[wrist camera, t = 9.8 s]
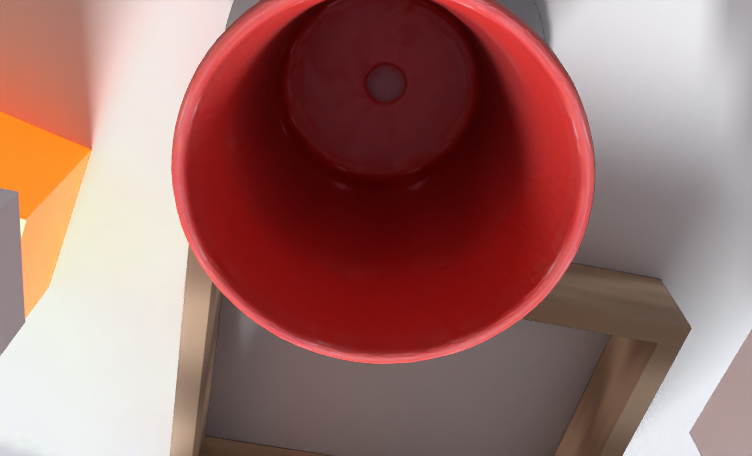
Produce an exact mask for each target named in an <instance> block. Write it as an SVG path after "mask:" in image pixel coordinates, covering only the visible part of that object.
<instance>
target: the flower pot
mask: <svg viewBox="0 0 752 456" xmlns="http://www.w3.org/2000/svg"><path fill="white" fill-rule="evenodd" d="M171 170H172V184H173V190H174V196H175V202H176V207H177V211H178V215H179V218H180V222H181V225H182V228H183V231H184V233H185V235H186V238H187V240H188V243H189V245H190V247H191V249H192V251H193V253H194V254H195V256H196V258H197V260H198V262H199V263H200V265H201V266H202V268H203V269H204V270H205V272H206V273H207V275H208V276H209V277H210V279H211V280H212V282H213V283H214V284H215V285H216V286H217V287H218V289H219V290H220V291H221V292H222V293H223V294H224V295H225V296H226V297H227V298H228V299H229V300H230V301H231V302H232V303H233V304H234V305H235V306H236V307H237V308H238V309H240V310H241V311H242V312H243V313H244V314H245V315H247V316H248V317H249V318H251V319H252V320H253V321H255V322H256V323H257V324H259V325H260V326H262V327H263V328H265V329H266V330H268V331H270V332H271V333H273V334H274V335H276V336H278V337H279V338H281V339H284V340H286V341H288V342H290V343H292V344H294V345H296V346H299V347H301V348H304V349H307V350H310V351H312V352H316V353H319V354H322V355H326V356H330V357H334V358H338V359H342V360H347V361H354V362H362V363H374V364H391V363H409V362H417V361H423V360H428V359H433V358H437V357H442V356H446V355H450V354H454V353H457V352H460V351H463V350H466V349H469V348H471V347H474V346H476V345H478V344H480V343H483V342H485V341H486V340H488V339H490V338H492V337H494V336H495V335H497V334H499V333H501V332H503V331H504V330H506V329H508V328H509V327H511V326H512V325H513V324H515V323H516V322H518V321H519V320H521V319H522V318H523V317H524V316H525V315H527V314H528V313H529V312H530V311H531V310H533V309H534V308H535V307H536V306H537V305H538V304H539V303H540V302H541V301H542V300H543V299H544V298H545V297H546V296H547V295H548V294H549V293H550V292H551V290H552V289H553V288H554V287H555V285H556V284H557V283H558V282H559V280H560V279H561V277H562V276H563V274H564V273H565V271H566V270H567V268H568V267H569V265H570V264H571V262H572V260H573V259H574V257H575V255H576V253H577V251H578V249H579V246H580V244H581V242H582V239H583V236H584V234H585V231H586V227H587V224H588V221H589V217H590V213H591V208H592V203H593V195H594V184H595V159H594V149H593V142H592V137H591V133H590V128H589V124H588V120H587V117H586V113H585V110H584V107H583V104H582V102H581V99H580V97H579V94H578V92H577V90H576V88H575V86H574V83H573V81H572V80H571V78H570V76H569V75H568V73H567V71H566V70H565V68H564V67H563V65H562V64H561V62H560V61H559V59H558V58H557V56H556V55H555V54H554V52H553V51H552V50H551V49H550V47H549V46H548V45H547V44H546V43H545V41H544V40H543V39H542V38H541V37H540V36H539V35H538V34H537V33H536V32H535V31H534V30H533V29H532V28H531V27H530V26H529V25H528V24H527V23H526V22H525V21H524V20H523V19H521V18H520V17H519V16H517V15H516V14H515V13H514V12H512V11H511V10H510V9H508V8H507V7H506V6H504V5H503V4H501V3H500V2H498V1H496V0H260V1H259V2H258V3H256V4H255V5H253V6H252V7H251V8H249V9H248V10H247V11H246V12H244V13H243V14H242V15H241V16H240V17H239V18H238V19H236V20H235V21H234V22H233V23H232V24H231V25H230V26H229V27H228V28H227V29H226V31H225V32H224V33H223V34H222V35H221V36H220V37H219V38H218V39H217V40H216V42H215V43H214V44H213V46H212V47H211V48H210V49H209V51H208V52H207V54H206V55H205V57H204V58H203V60H202V61H201V63H200V64H199V66H198V68H197V70H196V72H195V74H194V75H193V77H192V79H191V82H190V84H189V86H188V88H187V91H186V93H185V95H184V98H183V101H182V104H181V107H180V110H179V114H178V118H177V122H176V126H175V132H174V138H173V147H172V166H171Z"/></svg>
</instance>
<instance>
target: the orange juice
mask: <svg viewBox="0 0 752 456" xmlns="http://www.w3.org/2000/svg"><path fill="white" fill-rule="evenodd" d="M90 154H91V149H89V148H87V147H84V146H82V145H79V144H77V143H75V142H72V141H70V140H67V139H65V138H63V137H60V136H58V135H56V134H53V133H51V132H48V131H46V130H44V129H41V128H39V127H36V126H34V125H32V124H29V123H27V122H25V121H22V120H20V119H17V118H15V117H13V116H10V115H8V114H5V113H3V112H1V111H0V188H3V189H8V190H14V191H19V209H20V229H21V248H22V268H23V287H24V306H25V318H26V317H27V316H28V314H29V313H30V312H31V310H32V309H33V308H34V306H35V305H36V304H37V302H38V301H39V300H40V298H41V297H42V296H43V294H44V293H45V292H46V290H47V289H48V288H49V285H50V282H51V278H52V275H53V272H54V269H55V266H56V262H57V259H58V256H59V253H60V250H61V246H62V243H63V240H64V237H65V234H66V230H67V227H68V224H69V221H70V218H71V214H72V211H73V208H74V205H75V202H76V198H77V195H78V192H79V189H80V186H81V182H82V179H83V176H84V173H85V170H86V166H87V163H88V160H89V157H90Z"/></svg>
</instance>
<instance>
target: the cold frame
mask: <svg viewBox="0 0 752 456" xmlns="http://www.w3.org/2000/svg"><path fill="white" fill-rule="evenodd" d="M221 301H222V292H221V291H220V290H219V289H218V287H217V286H216V285H215V284H214V283H213V282H212V280H211V279H210V277H209V276H208V275H207V273H206V272H205V270H204V269H203V268H202V266H201V265H200V263H199V262H198V260H197V258H196V256H195V254H194V253H193V251H192V249H191V247H190V245H189V249H188V260H187V271H186V282H185V294H184V305H183V316H182V327H181V338H180V349H179V360H178V371H177V382H176V393H175V404H174V416H173V427H172V438H171V449H170V456H329V455H322V454H316V453H309V452H303V451H297V450H290V449H284V448H277V447H271V446H264V445H258V444H251V443H245V442H238V441H232V440H226V439H219V438H213V437H206V436H205V431H206V423H207V415H208V407H209V399H210V391H211V382H212V374H213V366H214V358H215V350H216V342H217V334H218V326H219V317H220V309H221ZM522 319H526V320H531V321H537V322H542V323H548V324H554V325H559V326H565V327H570V328H576V329H582V330H587V331H593V332H598V333H604V334H610V335H611V337H610V339H609V341H608V343H607V345H606V347H605V349H604V352H603V354H602V356H601V358H600V360H599V362H598V364H597V366H596V368H595V370H594V373H593V375H592V377H591V379H590V381H589V383H588V385H587V387H586V389H585V392H584V394H583V396H582V398H581V400H580V402H579V404H578V406H577V408H576V410H575V413H574V415H573V417H572V419H571V421H570V423H569V425H568V427H567V429H566V432H565V434H564V436H563V438H562V440H561V442H560V444H559V446H558V448H557V450H556V453H555V455H554V456H622V455H623V453H624V452H625V450H626V448H627V446H628V444H629V442H630V441H631V439H632V437H633V435H634V433H635V431H636V430H637V428H638V426H639V424H640V422H641V420H642V418H643V417H644V415H645V413H646V411H647V409H648V407H649V406H650V404H651V402H652V400H653V398H654V396H655V395H656V393H657V391H658V389H659V387H660V385H661V384H662V382H663V380H664V378H665V376H666V374H667V372H668V371H669V369H670V367H671V365H672V363H673V361H674V360H675V358H676V356H677V354H678V352H679V350H680V349H681V347H682V345H683V343H684V341H685V339H686V338H687V336H688V334H689V332H690V330H691V326H690V325H689V323H688V322H687V320H686V318H685V317H684V315H683V314H682V312H681V311H680V309H679V307H678V306H677V304H676V303H675V301H674V299H673V298H672V296H671V295H670V293H669V292H668V290H667V288H666V287H665V285H664V284H663V282H662V281H661V279H655V278H650V277H645V276H639V275H634V274H629V273H623V272H618V271H613V270H607V269H602V268H597V267H591V266H586V265H581V264H575V263H571V264H570V265H569V267H568V268H567V270H566V271H565V273H564V274H563V276H562V277H561V279H560V280H559V282H558V283H557V284H556V285H555V287H554V288H553V289H552V290H551V292H550V293H549V294H548V295H547V296H546V297H545V298H544V299H543V300H542V301H541V302H540V303H539V304H538V305H537V306H536V307H535V308H534V309H533V310H531V311H530V312H529V313H528V314H527V315H525V316H524V317H523V318H522Z"/></svg>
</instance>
